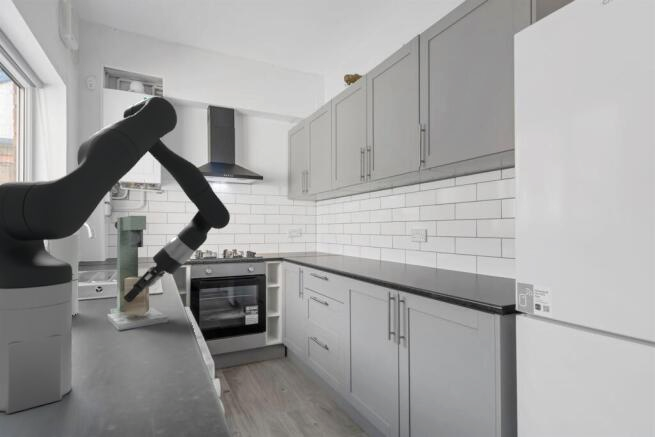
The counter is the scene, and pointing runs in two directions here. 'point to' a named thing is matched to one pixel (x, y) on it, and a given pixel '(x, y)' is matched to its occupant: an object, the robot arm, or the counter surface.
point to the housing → (136, 298)
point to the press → (130, 273)
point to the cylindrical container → (68, 261)
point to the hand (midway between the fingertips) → (130, 298)
